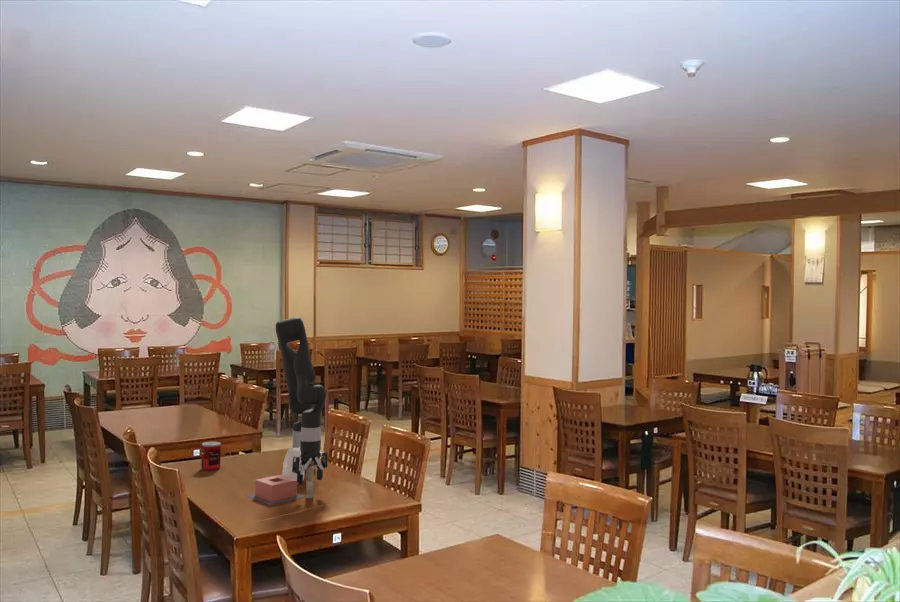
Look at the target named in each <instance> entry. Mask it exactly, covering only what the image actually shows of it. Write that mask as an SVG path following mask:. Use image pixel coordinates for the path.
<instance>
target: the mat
mask: <svg viewBox="0 0 900 602" xmlns="http://www.w3.org/2000/svg"><path fill="white" fill-rule="evenodd" d="M246 497H247V498H250V499H253V500H256V501H258V502H260V503H264V504H266V505H269V506H271V505H276V504H279V503H280V504H281V503H283V502H287V501H292V500H293V501H294V500H298V499H301V498H306V495H304V494H302V493H298V492H297V496H295V497H291V498H287V499H282V500H278V501H274V502H270V501H267V500H265V499H262V498H260V497H257V496H255V493H251V494H248V495H246Z"/></svg>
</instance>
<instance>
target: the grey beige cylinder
mask: <svg viewBox="0 0 900 602" xmlns="http://www.w3.org/2000/svg"><path fill="white" fill-rule="evenodd" d="M305 472H306V473H305V477H306V478H305V496H306V497H305V498H306V499H308V500H310V499H314V488H315V487H314V484H315V469H314V461H312V462H310V467H307V468H306V471H305Z"/></svg>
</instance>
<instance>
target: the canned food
mask: <svg viewBox="0 0 900 602" xmlns="http://www.w3.org/2000/svg"><path fill="white" fill-rule="evenodd" d="M221 453H222V444H221V442H219V441H205V442H202V443H201V462H200V463H201V464H200V465H201V470H203V471H207V472H208V471H217V470H219V469H220V468H221V460H222V459H221V456H222V454H221Z"/></svg>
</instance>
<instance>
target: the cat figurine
mask: <svg viewBox="0 0 900 602" xmlns="http://www.w3.org/2000/svg"><path fill="white" fill-rule="evenodd" d="M300 455H301V451H300V447H298V448H293V447H289V448H288V450H287V452H286V454H285V456H284V460H283V463H282V472H281V475H283V476H286V477H289V478H292V479H295V480H297V474H296V473H293V472H292V467H293V457H294V456H296V457H299V456H300ZM300 463H301V460H300V462H299V464H300ZM305 475H306V473H305V472H303V481H305ZM297 485H299V484H298V483H297Z"/></svg>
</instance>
